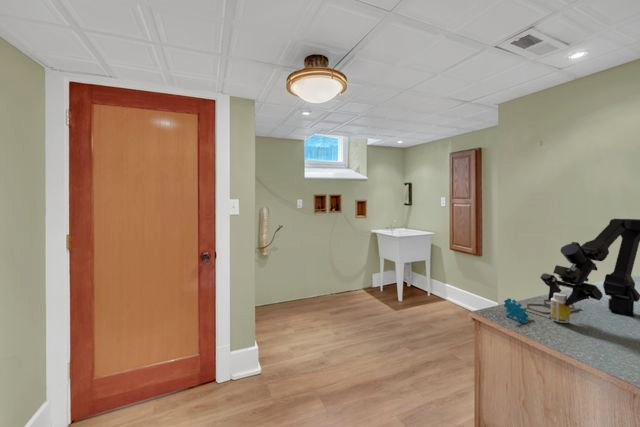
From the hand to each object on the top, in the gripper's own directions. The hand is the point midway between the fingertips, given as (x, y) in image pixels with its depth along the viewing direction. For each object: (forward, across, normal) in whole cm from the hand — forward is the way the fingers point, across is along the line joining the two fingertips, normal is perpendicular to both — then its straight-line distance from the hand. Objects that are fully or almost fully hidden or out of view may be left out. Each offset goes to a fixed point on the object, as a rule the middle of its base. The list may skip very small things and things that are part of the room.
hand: (557, 302), depth 107 cm
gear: (+14, -6, -3) cm, 16 cm away
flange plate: (-2, -11, +14) cm, 17 cm away
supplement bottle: (+4, 0, +6) cm, 7 cm away
